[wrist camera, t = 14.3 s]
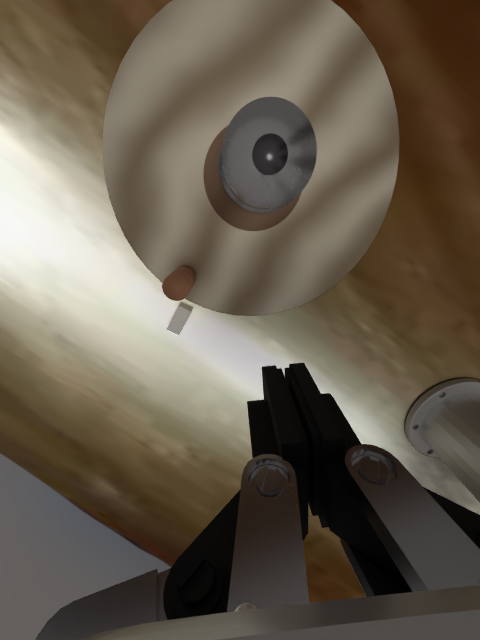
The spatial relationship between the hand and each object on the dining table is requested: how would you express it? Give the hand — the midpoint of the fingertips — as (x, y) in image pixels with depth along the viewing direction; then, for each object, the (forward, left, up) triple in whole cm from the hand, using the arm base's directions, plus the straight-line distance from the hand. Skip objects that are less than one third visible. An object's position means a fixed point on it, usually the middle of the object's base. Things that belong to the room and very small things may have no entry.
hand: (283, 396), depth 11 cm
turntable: (-1, -10, -19) cm, 22 cm away
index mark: (+8, +2, -19) cm, 20 cm away
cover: (-2, -11, -17) cm, 21 cm away
